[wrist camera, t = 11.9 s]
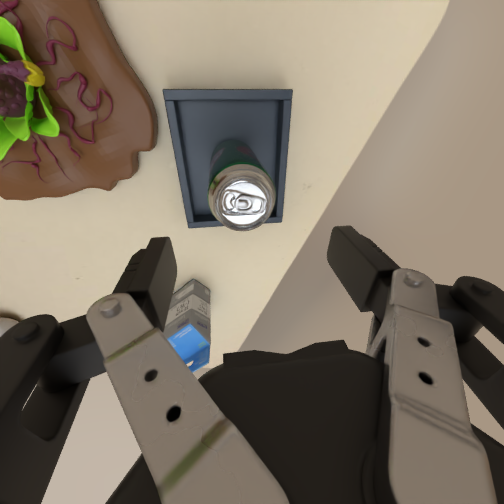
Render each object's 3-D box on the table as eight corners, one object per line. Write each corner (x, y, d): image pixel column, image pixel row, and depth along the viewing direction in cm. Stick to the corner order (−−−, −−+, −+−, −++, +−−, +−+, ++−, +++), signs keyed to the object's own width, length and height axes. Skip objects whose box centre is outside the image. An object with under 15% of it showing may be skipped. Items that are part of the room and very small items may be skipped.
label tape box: (194, 277, 35) (185, 350, 25) (212, 291, 37) (211, 363, 27) (156, 306, 37) (133, 383, 27) (175, 317, 39) (161, 393, 29)
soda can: (211, 135, 23) (208, 161, 14) (258, 142, 24) (286, 171, 15) (209, 183, 26) (205, 233, 16) (251, 187, 27) (271, 238, 17)
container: (167, 90, 21) (162, 89, 19) (285, 90, 23) (292, 89, 21) (190, 219, 29) (188, 228, 27) (277, 213, 30) (282, 222, 28)
